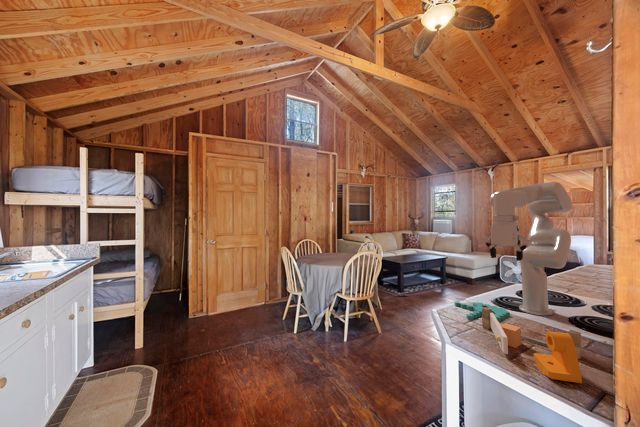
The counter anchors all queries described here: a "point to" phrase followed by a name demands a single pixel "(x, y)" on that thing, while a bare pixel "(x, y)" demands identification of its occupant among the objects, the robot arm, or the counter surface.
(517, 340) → the block
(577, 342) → the gate frame
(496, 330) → the gate door
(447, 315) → the counter surface
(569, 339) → the bracket
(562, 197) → the robot arm
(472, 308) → the alien figure
